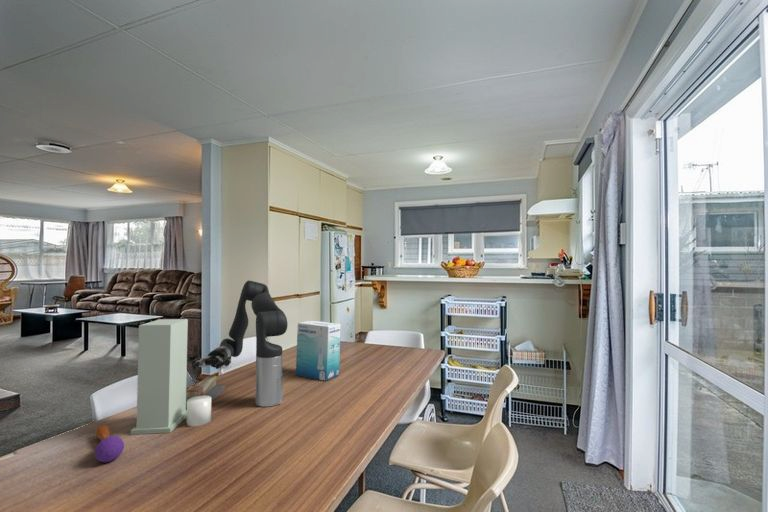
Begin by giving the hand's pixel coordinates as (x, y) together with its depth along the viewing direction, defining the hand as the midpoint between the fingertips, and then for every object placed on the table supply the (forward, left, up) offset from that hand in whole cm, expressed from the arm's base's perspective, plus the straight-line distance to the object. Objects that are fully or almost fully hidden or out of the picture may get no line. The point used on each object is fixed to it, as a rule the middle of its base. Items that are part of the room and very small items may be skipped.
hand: (205, 366), depth 139 cm
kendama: (+10, +43, -10) cm, 45 cm away
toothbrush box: (-43, -17, -10) cm, 47 cm away
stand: (+3, +27, -10) cm, 29 cm away
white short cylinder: (-8, +27, -10) cm, 30 cm away
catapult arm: (0, +3, -9) cm, 10 cm away
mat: (-1, +6, -10) cm, 12 cm away
